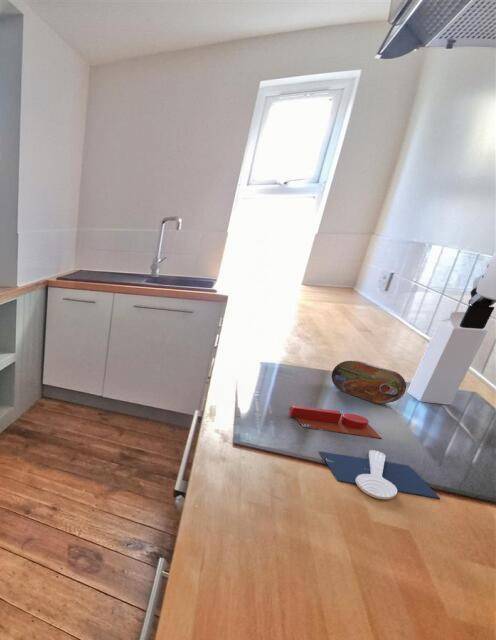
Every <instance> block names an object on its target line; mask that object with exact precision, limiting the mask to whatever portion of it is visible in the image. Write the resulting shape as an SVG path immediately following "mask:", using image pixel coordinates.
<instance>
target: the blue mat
mask: <svg viewBox="0 0 496 640" xmlns="http://www.w3.org/2000/svg"><path fill="white" fill-rule="evenodd" d="M319 452H320V453H319ZM318 453H319V455H320V454H321V455H322V456H323V457H324V458H325V459H326V458H327V459H328V460H331V461H334V462H332V463H331V462H325V464H326V463H327V464H326V465H327V467H328V468H329V470H330V471H331V473H332V474H333V476H334V477H335V479H336V480H337V482H340V483H347V484H352V485H357V484H356V481H355V480H356V478H357V476H358V475H360V474H371V471H370V463H369V458H364V457H358V456H352V455H347V454H346V455H345V454H339V453H333V452H327V451H320V450H319V451H318ZM321 455H320V456H321ZM322 456H321V457H322ZM364 468H366V469H365V470H364ZM367 469H369V470H367ZM398 476H399V477H398ZM382 477H383V478H384V479H386V480H388V481H389V482H391V483H392V484H394V485H395V486H396V489H397V493H402V494H408V495H415V496H420V497H426V498H432V499H436V500H437V499H438V500H440V499H441V497H440V496H439V495H438V494H437V493H436V492H435V491H434V490H433V489H432V487H430V486H429V485H428V484H427V482H425V481H424V479H422V478H421V476H419V474H418V473H417V472H416V471H415V470H413V469H412V467H411V466H410V465H408V464H402V463H395V462H390V461H385V462H384V467H383V473H382Z"/></svg>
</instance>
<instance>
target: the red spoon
mask: <svg viewBox="0 0 496 640" xmlns="http://www.w3.org/2000/svg"><path fill="white" fill-rule="evenodd" d="M290 407H291V409H290V408H289V412H288V415H289V417H290V418H295V419H296V418H302V419H309V420H316V421H323V422H331V423H338V422H339V420H340V417H341V415H342V414H343V416H342V419H341V423H342V424H344V425H346V426H348V427H351V428H355V429H365V428H366V427H367V424H369V422H370V421H369V419H368V418H366V417H364V416H363V415H359V414H355V413H341V412H340V411H339V410H333V409H327V408H326V409H325V408H319V407H311V406H304V405H294V404H291V406H290Z"/></svg>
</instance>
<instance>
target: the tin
mask: <svg viewBox="0 0 496 640" xmlns="http://www.w3.org/2000/svg"><path fill="white" fill-rule="evenodd" d="M331 382H332V383H333V386H334V387H335V388H336V389H337V390H339V391H340V392H343V393H346V394H349V395H351V396H353V397H356V398H360V399H363V400H364V401H365V400H366V401H367V402H370V403H373V404H377V405H378V404H379V405H380V404H381V405H384V404H385V405H386V404H389V403H394V402H396V401H398V400H400V399H401V398H402V397H403V396H404V394H405V393H406V390H407V382H406V379H405V378H404V377H403V376H402V374H400V373H398V372H397V371H394V370H392V369H389V368H388V369H387V368H384V367H381V366H377V365H373V364H370V363H367V362H363V361H359V360H344V361H342V362H340V363H338V364H337V365H335V367H334V368H333V370H332V372H331Z"/></svg>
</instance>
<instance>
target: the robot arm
mask: <svg viewBox="0 0 496 640" xmlns="http://www.w3.org/2000/svg"><path fill="white" fill-rule="evenodd" d="M467 304H468V307H467V309H466V311H465V312H466V313H465V315H464V317H463V319H462V321H461V323H460V327H462V328H474V329H483V328H484V327H485V326H486V325H487V323H488V322H489V319H490V317H491V316H492V314H493V312H494V310H495V306H493V305H494V304H496V251H494V253H493V255H492V256H491V258H490V260H489V261H488V264H487V265H486V267H485V269H484V271H483V274H482V275H480V276H477V277H475V278H474V279H473V281H472V290H471V291H470V299H469V300H468V301H467ZM486 327H487V326H486Z"/></svg>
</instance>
